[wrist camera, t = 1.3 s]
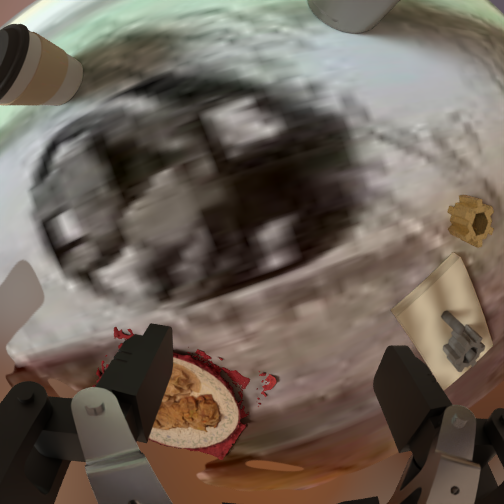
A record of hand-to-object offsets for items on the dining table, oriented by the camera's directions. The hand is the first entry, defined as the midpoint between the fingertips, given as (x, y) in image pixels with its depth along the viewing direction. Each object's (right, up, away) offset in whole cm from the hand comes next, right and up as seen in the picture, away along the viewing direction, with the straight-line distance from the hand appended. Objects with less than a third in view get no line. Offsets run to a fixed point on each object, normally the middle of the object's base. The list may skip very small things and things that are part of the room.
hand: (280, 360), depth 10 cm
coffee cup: (-26, +26, +17) cm, 41 cm away
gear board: (+29, -8, +27) cm, 40 cm away
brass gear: (+27, +9, +22) cm, 36 cm away
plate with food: (-14, -19, +32) cm, 39 cm away
